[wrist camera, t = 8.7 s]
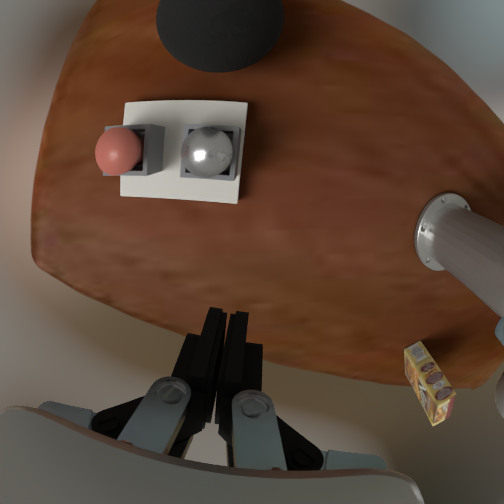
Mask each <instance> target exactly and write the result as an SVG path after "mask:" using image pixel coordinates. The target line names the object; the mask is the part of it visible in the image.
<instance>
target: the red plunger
mask: <svg viewBox="0 0 504 504" xmlns="http://www.w3.org/2000/svg"><path fill="white" fill-rule="evenodd" d="M144 137H145V135H143V134H135V133H134V132H133V131H132V130H130V129H128V128H124V127H114V128H111V129H109V130H107V131H106V132H104V133H103V134H102V135H101V137H100V138H99V140H98V142H97V145H96V150H95V156H96V161H97V164H98V166H99V167H100V169H101V170H102V171H103V172H105V173H107V174H109V175H120V174H124V173H126V172H128V171H130V170H131V169H132V168H133V167H134V166H135V165H138V164H142V163H143V152H144Z"/></svg>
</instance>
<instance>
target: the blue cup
mask: <svg viewBox="0 0 504 504" xmlns="http://www.w3.org/2000/svg"><path fill="white" fill-rule="evenodd" d="M495 335H496V337H497V338H498V339H499V340H500V341H501V343H502V344H503V345H504V318H503V317H501V319H500V320H499V322H498V324H497V326H496V329H495Z"/></svg>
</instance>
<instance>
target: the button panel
mask: <svg viewBox="0 0 504 504" xmlns="http://www.w3.org/2000/svg"><path fill="white" fill-rule="evenodd" d="M247 108H248V103H244V102H230V101H209V100H163V101H143V102H130V103H125V111H124V121H123V125H120V126H107V127H105V132H106V131H107V130H109V129H111V128H114V127H124V128H128V129H130V130H132V131H133V132H134V133H135V134H143V135H145V137H144V152H143V163H142V164H138V165H135V166H134V167H133V168H132V169H131V170H130V171H128V172H126V173H124V174H120V175H119V176H121V196H133V197H153V198H170V199H185V200H199V201H211V202H223V203H234V204H237V202H238V195H239V184H240V174H241V164H242V155H243V145H244V136H245V126H246V117H247ZM201 127H214V128H217V129H219V130H221V131H223V132H224V133H225V134H226V135H227V136H228V137H229V138H230V140H231V142H232V145H233V157H232V160H231V163H230V164H229V166H228V167H227V168H226V169H225V170H224V171H223V172H222V173H220V174H218V175H216V176H214V177H209V178H203V177H198V176H196V175H194V174H192V173H191V172H189V171H188V170H187V169H186V167H185V166H184V164H183V162H182V158H181V147H182V144H183V141H184V140H185V138H186V137H187V136H188V135H189V134H190V133H191V132H192V131H194V130H195V129H198V128H201ZM103 175H109V174H107V173H105V172H103Z"/></svg>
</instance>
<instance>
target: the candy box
mask: <svg viewBox="0 0 504 504" xmlns="http://www.w3.org/2000/svg"><path fill="white" fill-rule="evenodd" d="M404 358H405V374H406V376H407V378H408V380H409V381H410V383H411V385H412V387H413V389H414V391H415V393H416V394H417V396H418V398H419V400H420V402H421V404H422V406H423V408H424V410H425V412H426V414H427V416H428V417H429V420H430V422H431V424H432V426H434V425H436V424H438V423H440V422H442V421H443V420H445V419H447V418H448V417H450V414H451V411H452V407H453V404H454V400H455V397H456V393H455V391H454V389H453V388H452V386H451V385H450V383H449V382H448V380H447V379H446V377H445V376H444V374H443V373H442V371H441V370H440V368H439V367H438V365H437V364H436V362H435V361H434V359H433V358H432V356H431V355H430V354H429V352H428V351H427V349H426V348H425V346H424V345H423V344H422V342H421V341H418V342H417V343H415V344H413V345H411V346H409V347H407V348H405V349H404Z"/></svg>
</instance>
